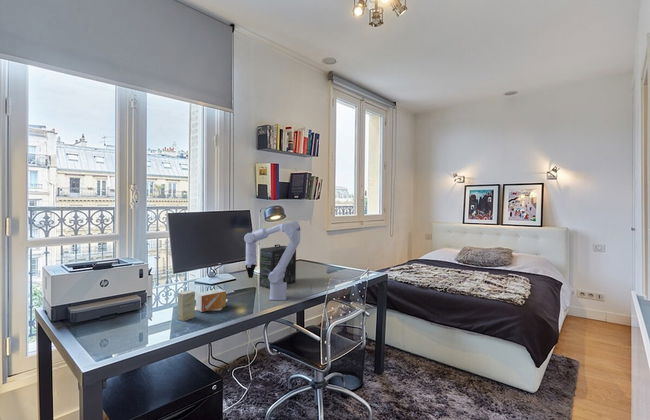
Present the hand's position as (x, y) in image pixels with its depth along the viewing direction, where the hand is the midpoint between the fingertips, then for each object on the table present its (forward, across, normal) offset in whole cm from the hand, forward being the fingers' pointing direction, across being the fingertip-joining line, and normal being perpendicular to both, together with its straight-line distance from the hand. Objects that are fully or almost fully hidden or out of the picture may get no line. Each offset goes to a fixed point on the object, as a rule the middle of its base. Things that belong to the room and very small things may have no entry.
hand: (250, 277), depth 188 cm
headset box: (+11, -25, +14) cm, 31 cm away
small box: (+6, +17, -11) cm, 21 cm away
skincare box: (+11, +35, -24) cm, 44 cm away
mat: (+10, +16, -18) cm, 26 cm away
